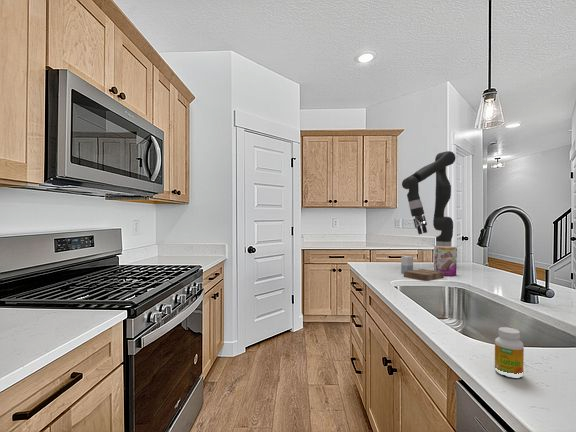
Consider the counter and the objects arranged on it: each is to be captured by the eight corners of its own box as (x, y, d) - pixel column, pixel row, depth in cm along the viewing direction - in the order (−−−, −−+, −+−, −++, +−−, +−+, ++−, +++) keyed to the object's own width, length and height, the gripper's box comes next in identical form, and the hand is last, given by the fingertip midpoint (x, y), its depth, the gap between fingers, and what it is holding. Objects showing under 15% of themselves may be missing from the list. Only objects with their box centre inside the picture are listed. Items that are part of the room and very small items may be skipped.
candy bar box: (436, 275, 197) (436, 247, 196) (433, 274, 202) (433, 246, 201) (457, 276, 195) (457, 247, 195) (453, 274, 200) (453, 246, 200)
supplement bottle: (497, 377, 75) (497, 332, 75) (492, 366, 80) (492, 324, 80) (526, 381, 73) (526, 335, 73) (519, 370, 78) (520, 327, 78)
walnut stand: (421, 274, 202) (421, 268, 202) (443, 277, 191) (443, 272, 191) (403, 276, 193) (403, 271, 193) (425, 280, 182) (425, 275, 182)
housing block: (406, 272, 208) (406, 255, 208) (413, 273, 204) (413, 256, 204) (401, 273, 205) (401, 256, 205) (407, 274, 201) (407, 257, 201)
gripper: (426, 204, 208) (433, 231, 206) (418, 208, 222) (424, 233, 220) (414, 207, 208) (420, 233, 206) (406, 211, 222) (413, 235, 220)
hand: (422, 233), depth 213 cm, fingers open, 8 cm apart
